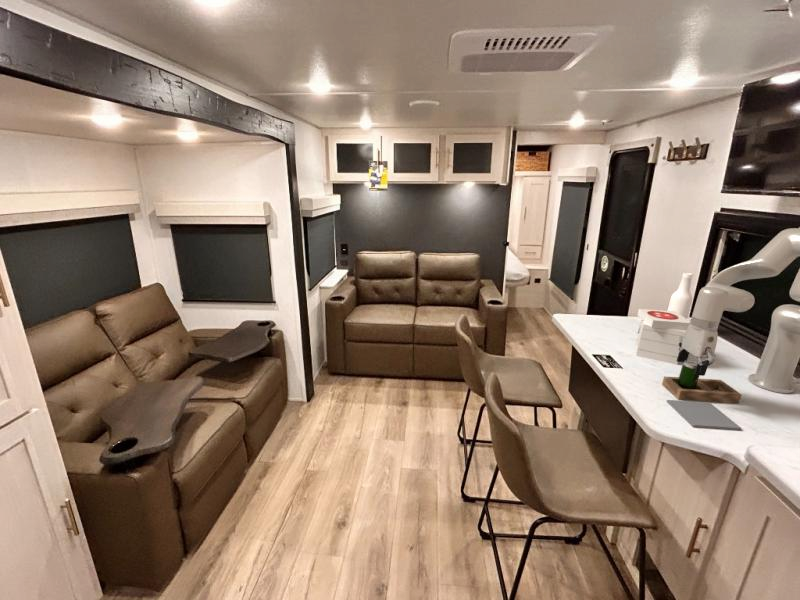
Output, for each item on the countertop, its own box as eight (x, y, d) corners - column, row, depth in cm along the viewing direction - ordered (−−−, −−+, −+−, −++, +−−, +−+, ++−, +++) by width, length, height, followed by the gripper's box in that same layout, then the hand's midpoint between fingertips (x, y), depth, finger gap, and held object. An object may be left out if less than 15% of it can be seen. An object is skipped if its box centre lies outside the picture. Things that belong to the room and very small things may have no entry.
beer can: (676, 394, 135) (684, 364, 132) (674, 387, 140) (682, 358, 136) (694, 398, 133) (703, 368, 129) (692, 391, 137) (701, 361, 134)
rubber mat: (709, 404, 129) (709, 402, 129) (740, 430, 116) (741, 428, 116) (666, 401, 130) (667, 399, 130) (693, 427, 117) (693, 424, 117)
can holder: (718, 388, 140) (720, 379, 139) (738, 403, 130) (741, 394, 129) (661, 384, 141) (664, 376, 140) (678, 399, 132) (680, 390, 131)
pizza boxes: (677, 342, 179) (687, 307, 173) (683, 368, 155) (694, 327, 149) (631, 333, 189) (639, 299, 183) (629, 356, 164) (638, 317, 159)
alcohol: (658, 327, 198) (672, 271, 189) (673, 326, 199) (687, 271, 190) (673, 333, 190) (688, 276, 180) (687, 332, 191) (704, 275, 182)
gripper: (735, 333, 119) (718, 381, 125) (698, 315, 136) (685, 358, 141) (710, 332, 120) (695, 379, 125) (677, 313, 136) (664, 356, 142)
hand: (689, 368), depth 133 cm, fingers open, 9 cm apart
